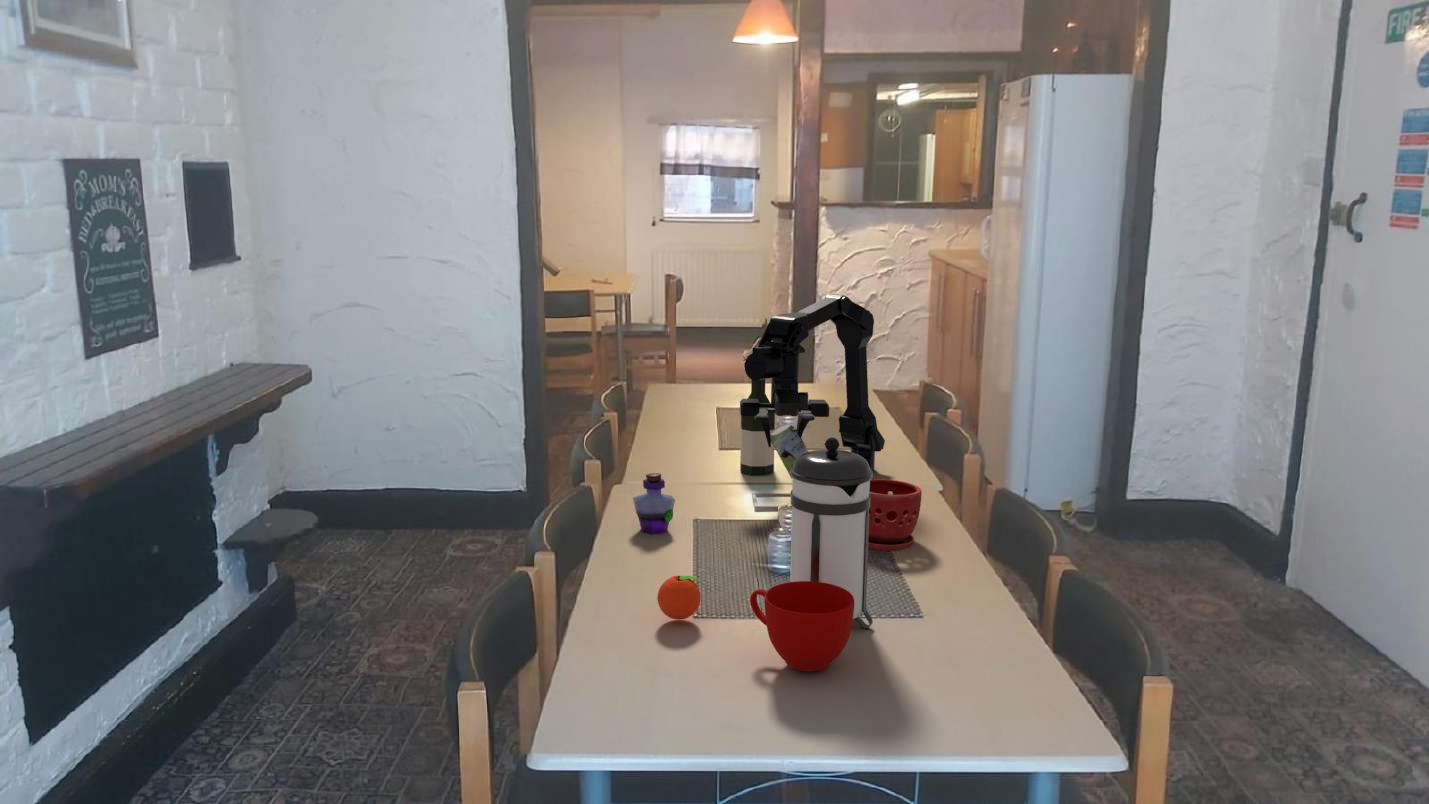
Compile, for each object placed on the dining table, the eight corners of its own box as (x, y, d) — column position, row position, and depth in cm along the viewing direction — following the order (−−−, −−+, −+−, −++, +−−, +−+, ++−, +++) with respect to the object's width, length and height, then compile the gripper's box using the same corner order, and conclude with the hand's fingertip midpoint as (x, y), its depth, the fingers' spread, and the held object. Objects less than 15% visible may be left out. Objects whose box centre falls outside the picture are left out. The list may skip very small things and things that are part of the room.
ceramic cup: (776, 629, 169) (777, 568, 167) (869, 659, 159) (871, 595, 157) (724, 656, 160) (725, 592, 158) (819, 690, 149) (821, 621, 147)
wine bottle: (733, 476, 258) (734, 352, 252) (764, 473, 262) (766, 350, 256) (749, 485, 251) (750, 357, 245) (780, 481, 254) (783, 355, 248)
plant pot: (913, 560, 202) (916, 498, 199) (844, 551, 206) (846, 491, 203) (923, 538, 214) (926, 480, 211) (858, 531, 218) (860, 474, 216)
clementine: (698, 606, 178) (698, 565, 177) (713, 622, 172) (713, 579, 171) (651, 613, 176) (651, 571, 174) (665, 629, 169) (665, 586, 168)
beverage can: (818, 477, 230) (800, 426, 227) (785, 487, 231) (767, 436, 228) (818, 467, 236) (801, 417, 233) (786, 477, 237) (768, 427, 234)
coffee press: (890, 611, 177) (897, 432, 171) (851, 646, 163) (857, 453, 158) (795, 591, 186) (799, 420, 180) (750, 622, 172) (753, 438, 166)
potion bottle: (670, 540, 212) (670, 480, 209) (628, 537, 213) (627, 478, 211) (679, 526, 220) (679, 469, 218) (637, 524, 221) (637, 467, 219)
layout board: (750, 500, 239) (750, 492, 238) (899, 501, 239) (899, 492, 239) (753, 517, 227) (753, 507, 226) (909, 517, 228) (910, 508, 227)
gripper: (742, 381, 221) (741, 455, 223) (833, 382, 221) (831, 456, 224) (740, 372, 231) (738, 443, 234) (827, 373, 232) (824, 444, 235)
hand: (782, 447), depth 232 cm, fingers closed on beverage can, 5 cm apart
